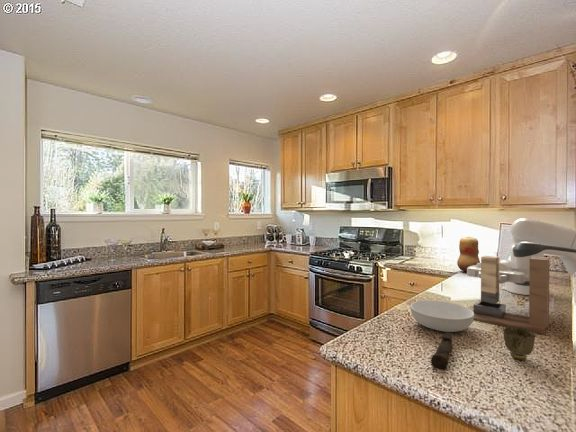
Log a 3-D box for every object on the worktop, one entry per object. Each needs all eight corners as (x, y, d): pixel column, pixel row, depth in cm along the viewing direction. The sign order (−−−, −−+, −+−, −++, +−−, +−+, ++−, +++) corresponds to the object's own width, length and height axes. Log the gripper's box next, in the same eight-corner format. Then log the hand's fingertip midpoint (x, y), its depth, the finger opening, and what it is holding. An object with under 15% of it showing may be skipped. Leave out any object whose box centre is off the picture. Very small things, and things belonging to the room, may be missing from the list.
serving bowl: (398, 323, 114) (398, 305, 114) (431, 314, 125) (432, 297, 125) (452, 344, 96) (452, 322, 96) (486, 330, 107) (486, 311, 107)
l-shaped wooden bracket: (470, 308, 132) (471, 251, 132) (549, 323, 114) (549, 257, 114) (460, 317, 121) (460, 254, 121) (545, 335, 103) (546, 262, 103)
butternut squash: (456, 273, 210) (456, 237, 210) (457, 269, 221) (457, 235, 221) (480, 275, 203) (480, 238, 202) (480, 271, 214) (480, 236, 214)
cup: (496, 352, 90) (496, 326, 90) (519, 351, 91) (519, 325, 91) (517, 365, 83) (517, 336, 83) (542, 364, 83) (542, 335, 83)
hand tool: (447, 372, 79) (447, 355, 79) (430, 368, 82) (430, 351, 82) (458, 347, 94) (459, 332, 94) (444, 344, 97) (444, 329, 97)
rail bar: (484, 298, 126) (485, 255, 126) (499, 301, 122) (499, 256, 122) (480, 300, 123) (481, 256, 122) (495, 303, 119) (495, 258, 119)
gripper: (529, 284, 123) (521, 289, 114) (473, 276, 138) (462, 280, 129) (529, 268, 123) (521, 273, 114) (473, 262, 138) (462, 266, 129)
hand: (489, 277), depth 122 cm, fingers closed on rail bar, 5 cm apart
